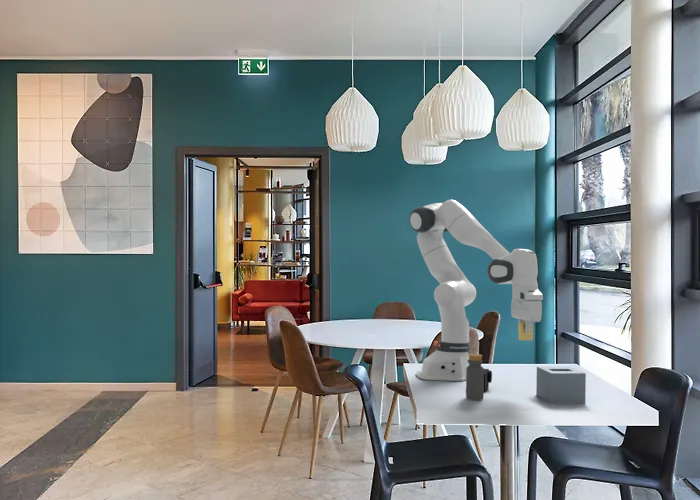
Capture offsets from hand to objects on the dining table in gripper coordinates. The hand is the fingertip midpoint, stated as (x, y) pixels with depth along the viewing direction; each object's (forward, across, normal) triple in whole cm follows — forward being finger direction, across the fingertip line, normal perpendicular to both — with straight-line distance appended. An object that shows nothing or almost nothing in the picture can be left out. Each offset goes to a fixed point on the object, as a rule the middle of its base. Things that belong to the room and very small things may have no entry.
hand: (525, 332), depth 209 cm
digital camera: (+22, -7, -14) cm, 27 cm away
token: (+3, 0, 0) cm, 3 cm away
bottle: (+22, +6, -21) cm, 31 cm away
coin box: (+22, +7, +9) cm, 25 cm away
